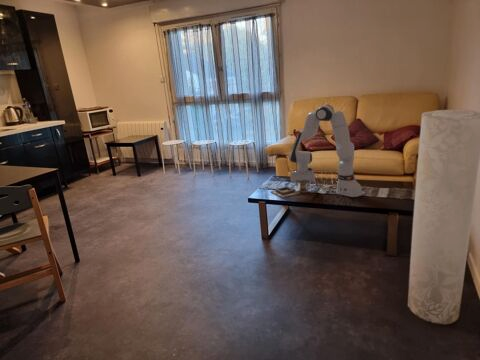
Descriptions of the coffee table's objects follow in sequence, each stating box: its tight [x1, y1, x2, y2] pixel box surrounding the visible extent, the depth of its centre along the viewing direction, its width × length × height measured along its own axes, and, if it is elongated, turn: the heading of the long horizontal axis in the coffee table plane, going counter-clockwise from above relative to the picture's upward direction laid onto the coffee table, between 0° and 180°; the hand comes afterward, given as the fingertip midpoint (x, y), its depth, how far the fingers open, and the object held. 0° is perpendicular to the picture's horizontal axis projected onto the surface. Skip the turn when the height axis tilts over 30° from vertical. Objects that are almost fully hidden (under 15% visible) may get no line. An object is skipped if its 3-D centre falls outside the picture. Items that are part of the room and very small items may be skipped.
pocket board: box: [270, 185, 301, 199], centre depth 273 cm, size 17×17×3 cm
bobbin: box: [298, 181, 308, 194], centre depth 273 cm, size 6×6×8 cm
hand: (302, 185), depth 272 cm, fingers open, 8 cm apart
